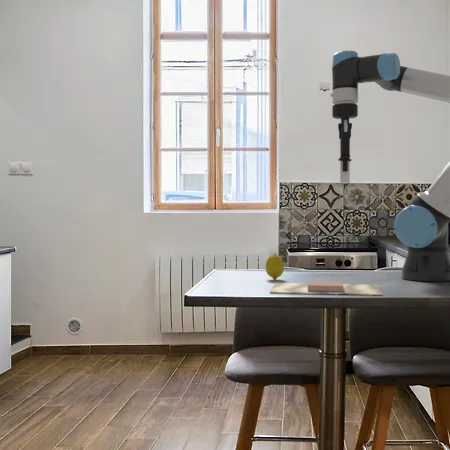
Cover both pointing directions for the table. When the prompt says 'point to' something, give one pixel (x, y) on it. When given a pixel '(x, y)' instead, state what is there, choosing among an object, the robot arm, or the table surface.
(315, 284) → the tile
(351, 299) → the table surface
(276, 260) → the lemon
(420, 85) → the robot arm
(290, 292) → the board
